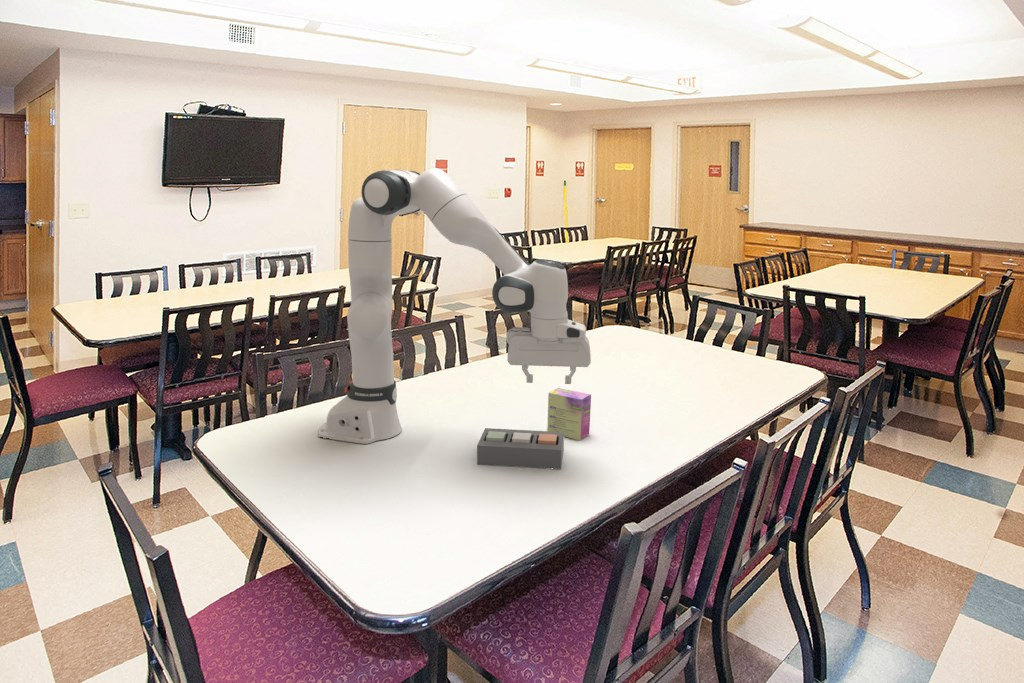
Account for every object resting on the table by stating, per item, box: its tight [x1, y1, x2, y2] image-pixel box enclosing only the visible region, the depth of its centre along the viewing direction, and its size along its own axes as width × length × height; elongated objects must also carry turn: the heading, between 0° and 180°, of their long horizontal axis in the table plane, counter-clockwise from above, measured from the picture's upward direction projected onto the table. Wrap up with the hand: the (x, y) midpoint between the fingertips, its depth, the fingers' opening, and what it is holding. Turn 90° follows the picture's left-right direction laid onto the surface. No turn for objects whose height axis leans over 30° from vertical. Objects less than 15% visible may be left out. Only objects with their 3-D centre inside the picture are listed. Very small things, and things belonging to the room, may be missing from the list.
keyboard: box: [476, 427, 565, 470], centre depth 174 cm, size 21×12×5 cm, turn 83°
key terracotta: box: [538, 434, 557, 445], centre depth 172 cm, size 4×4×2 cm
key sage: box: [486, 431, 506, 442], centre depth 174 cm, size 4×4×2 cm
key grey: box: [512, 432, 531, 443], centre depth 173 cm, size 4×4×2 cm
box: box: [546, 387, 592, 441], centre depth 189 cm, size 10×6×12 cm, turn 58°
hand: (548, 382), depth 169 cm, fingers open, 8 cm apart
